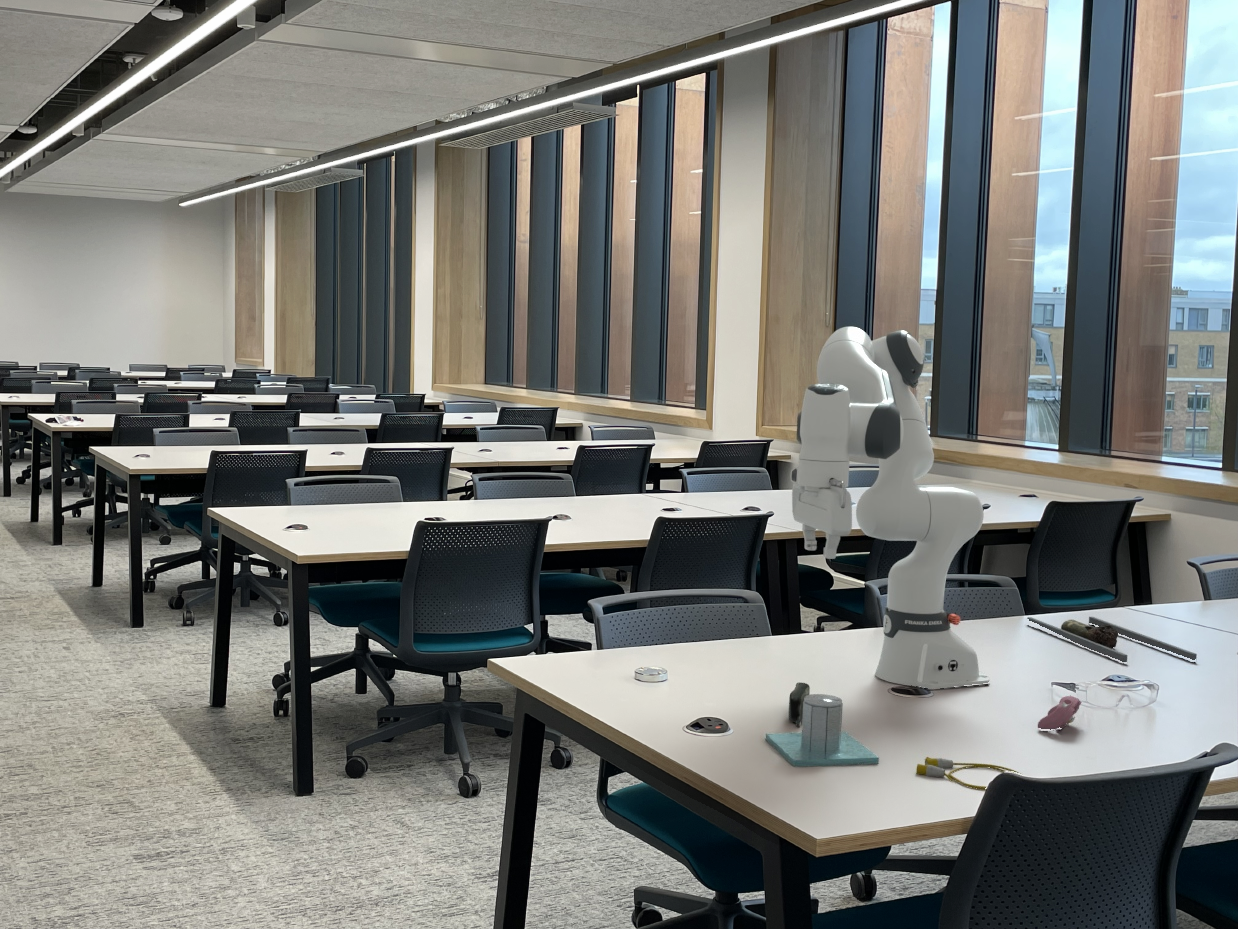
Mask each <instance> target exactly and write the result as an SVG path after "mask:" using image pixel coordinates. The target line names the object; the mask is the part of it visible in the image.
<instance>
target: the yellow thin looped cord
mask: <svg viewBox="0 0 1238 929" xmlns="http://www.w3.org/2000/svg"><path fill="white" fill-rule="evenodd" d="M954 766H961V767H958V768H955V769H952V770H951V771H949V772H948V773H946V770H945V769H951V768H950V767H953V768H954ZM966 767H976V768H978V767H990V768H993V770H995V769H997V771H999V770H1001V771H1000V772H1002V771H1008V772H1011V771H1014V772H1017V773H1020V772H1019V771H1017V770H1014V769H1011V768H1008V767H1004V766H1000V765H995V764H987V763H977V762H975V763H974V762H967V763H966V762H954V761H953V760H950V759H946V758H940V757H938V758H937V757H936V758H932V757H929V756H927V757H925V759H924V764H922V763H921V764H920V763H918V764H917V765H916V771H915V773H916V774H915V775H919V774H920V775H922V774H923V775H922V776H925V775H928V776H927V777H932V776H938V777H937V778H944V777H946V778H947V779H948V780H949V781H950V780H951V781H954V782H956V783H959V784H960V785H962V786H964V785H965V786H964V787H966V786H968V787H967V788H969V787H972V788H971V789H973V788H975V789H974V790H980V789H981V791H986V790H985V788H986V787H987V786H983V785H975V784H971V783H966V782H964V781H961V779H958V778H957V777H955V776H954V775H952V774H953V773H955V772H957V770H958V771H960V770H959V769H961V770H963V769H962V768H965V769H967V768H966ZM942 768H943V769H942ZM990 768H989V769H990ZM954 771H955V772H954ZM952 772H953V773H952ZM1014 772H1013V773H1014ZM951 773H952V774H951ZM1020 774H1022V773H1020ZM976 788H977V789H976Z"/></svg>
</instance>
